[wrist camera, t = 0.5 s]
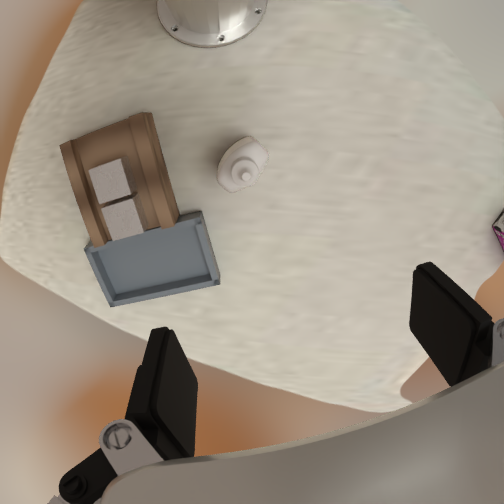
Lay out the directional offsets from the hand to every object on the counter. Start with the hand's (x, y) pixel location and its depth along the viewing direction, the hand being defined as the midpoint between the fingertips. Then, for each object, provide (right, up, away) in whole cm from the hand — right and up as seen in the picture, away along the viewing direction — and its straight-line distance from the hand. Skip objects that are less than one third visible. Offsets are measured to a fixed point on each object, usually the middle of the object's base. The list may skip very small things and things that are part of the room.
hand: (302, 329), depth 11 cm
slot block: (-17, +12, +24) cm, 32 cm away
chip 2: (-16, +7, +23) cm, 29 cm away
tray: (-15, +2, +29) cm, 33 cm away
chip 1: (-17, +11, +21) cm, 29 cm away
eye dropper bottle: (-3, +14, +25) cm, 29 cm away
